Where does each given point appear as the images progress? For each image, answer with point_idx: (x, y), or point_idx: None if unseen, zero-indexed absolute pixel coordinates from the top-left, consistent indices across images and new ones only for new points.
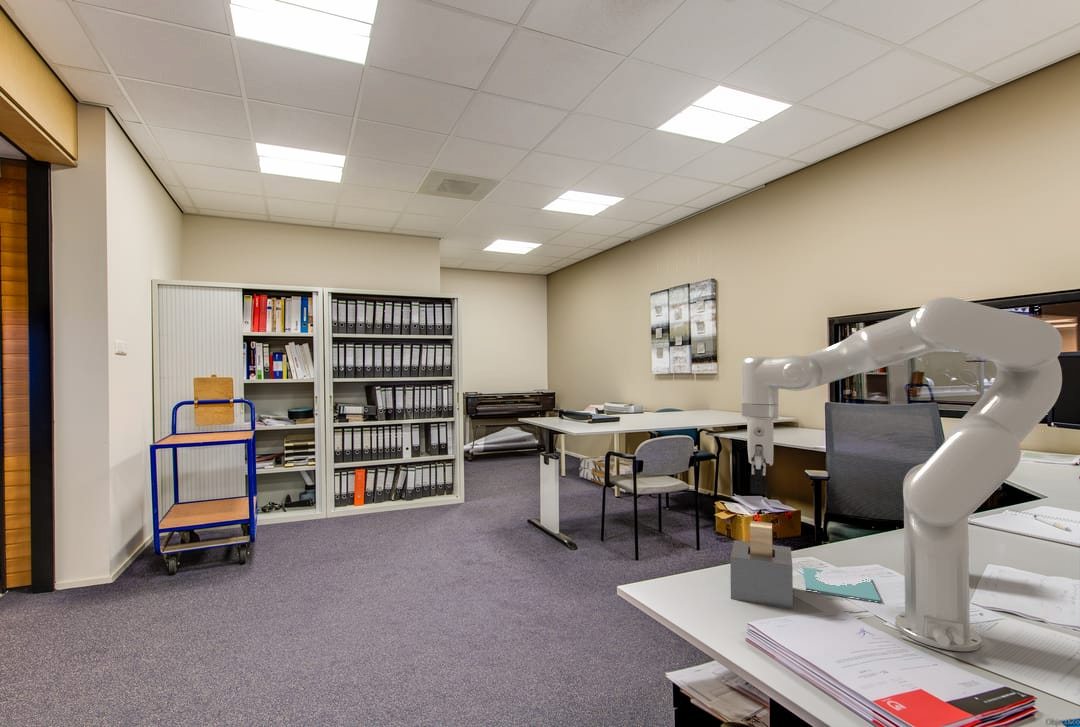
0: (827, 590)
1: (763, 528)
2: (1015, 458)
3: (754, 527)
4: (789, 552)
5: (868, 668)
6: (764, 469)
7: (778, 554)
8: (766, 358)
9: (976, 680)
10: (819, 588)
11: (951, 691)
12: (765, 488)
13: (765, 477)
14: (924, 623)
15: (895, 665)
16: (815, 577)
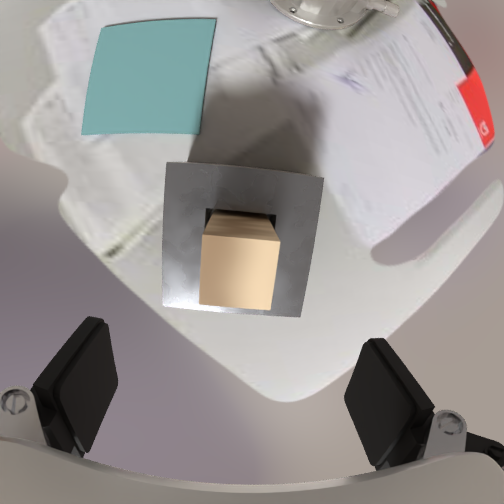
0: (194, 95)
1: (275, 268)
2: None
3: (272, 295)
4: (215, 169)
5: (441, 121)
6: (463, 445)
7: (245, 201)
8: None
9: (419, 19)
10: (188, 108)
11: (449, 58)
12: (392, 358)
13: (425, 404)
14: (359, 4)
15: (425, 84)
16: (128, 111)
